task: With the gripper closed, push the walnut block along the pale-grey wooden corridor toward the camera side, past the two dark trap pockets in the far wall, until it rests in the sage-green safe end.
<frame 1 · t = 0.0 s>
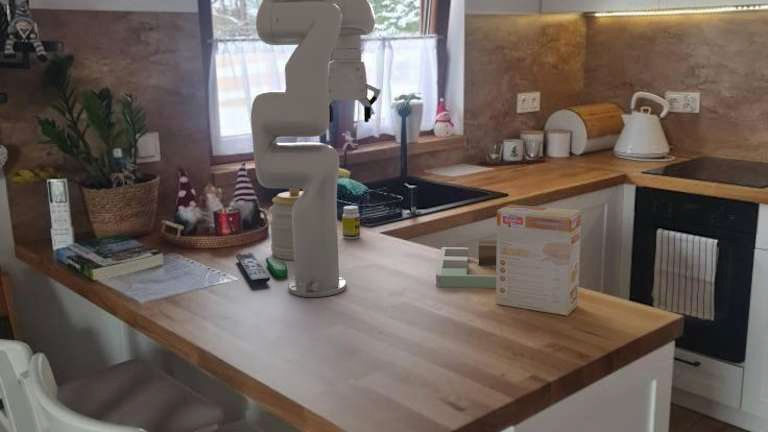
hand: (348, 121, 201), 31 cm above the countertop, fingers open, 9 cm apart
supplement bottle: (351, 237, 207), on the countertop
block: (489, 262, 181), on the countertop
trap box: (489, 271, 174), on the countertop
coffeecake box: (536, 306, 152), on the countertop
jar: (297, 254, 192), on the countertop
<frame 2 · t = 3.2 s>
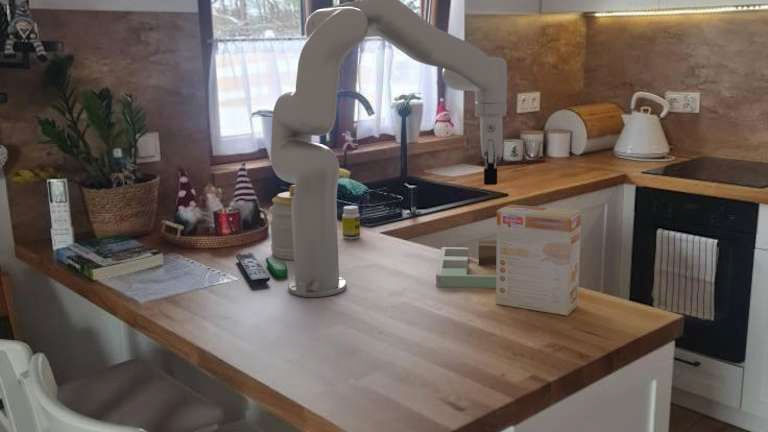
hand: (490, 183, 188), 17 cm above the countertop, fingers closed
nothing on the countertop moved.
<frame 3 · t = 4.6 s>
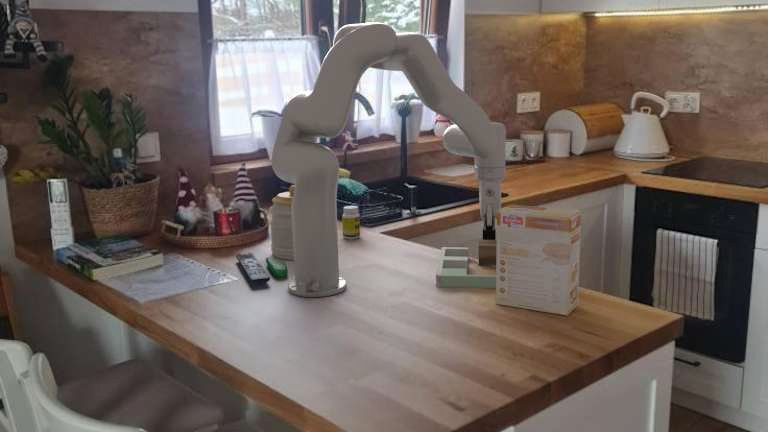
hand: (488, 244, 191), 1 cm above the countertop, fingers closed
nothing on the countertop moved.
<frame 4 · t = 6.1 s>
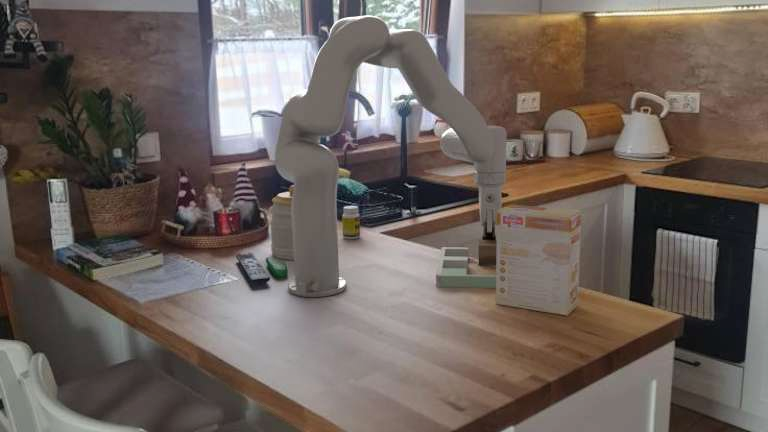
hand: (488, 251, 185), 1 cm above the countertop, fingers closed
block: (489, 262, 181), on the countertop, touching gripper
everything else where it was.
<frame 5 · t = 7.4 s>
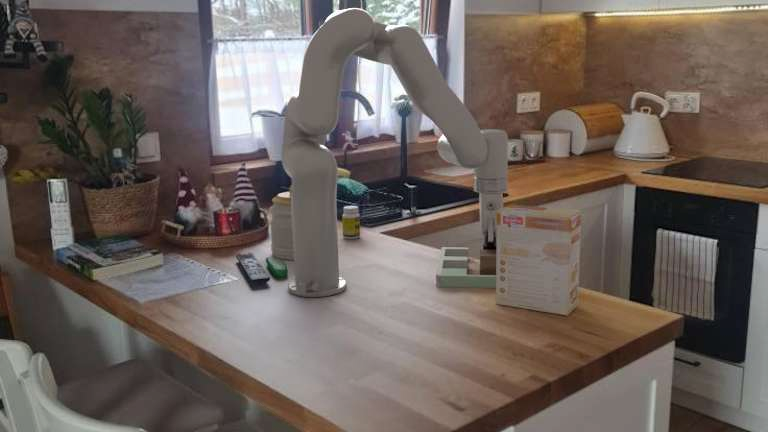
hand: (490, 261, 176), 1 cm above the countertop, fingers closed
block: (491, 274, 172), on the countertop, touching gripper
everything else where it was.
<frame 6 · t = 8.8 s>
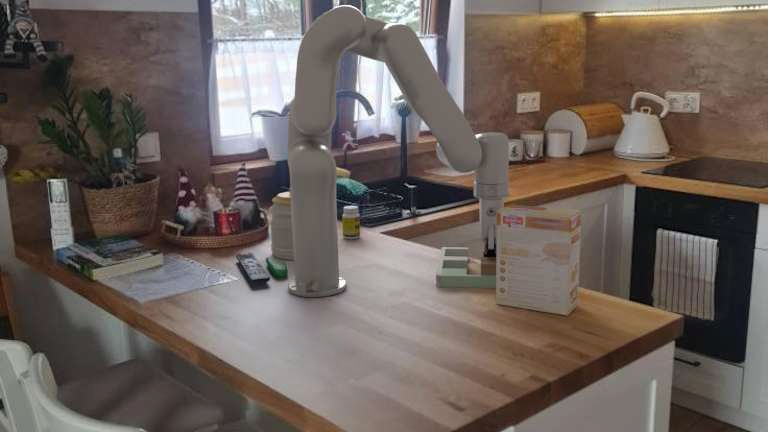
hand: (490, 269, 170), 1 cm above the countertop, fingers closed
block: (492, 282, 166), on the countertop, touching gripper, trap box
everything else where it was.
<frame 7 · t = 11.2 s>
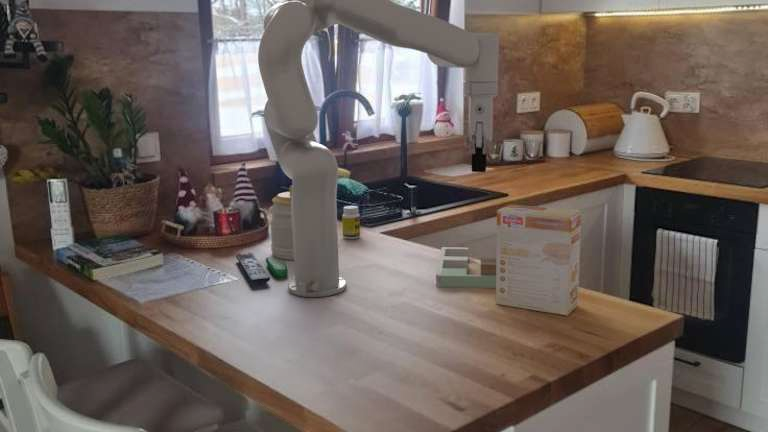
hand: (478, 171, 173), 23 cm above the countertop, fingers closed
block: (492, 283, 166), on the countertop
everything else where it was.
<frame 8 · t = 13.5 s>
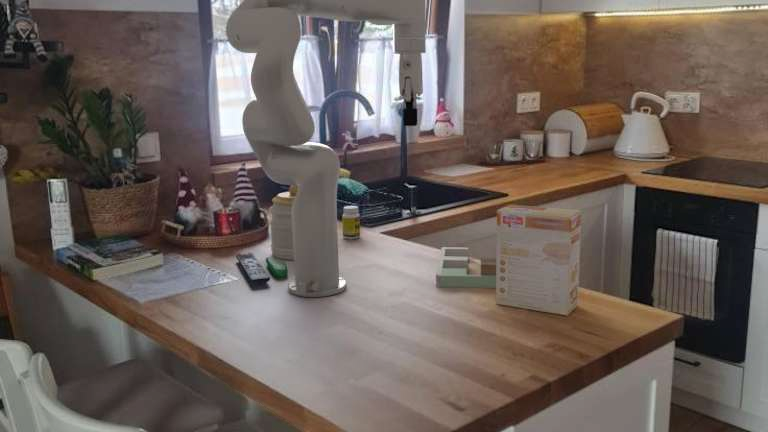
hand: (410, 125, 182), 32 cm above the countertop, fingers closed
nothing on the countertop moved.
at the end: block inside the target area on the trap box (1.3 cm from its centre), point 0.0 cm above the trap box's base; block tilted 0°; block moved 15.4 cm from its start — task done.
